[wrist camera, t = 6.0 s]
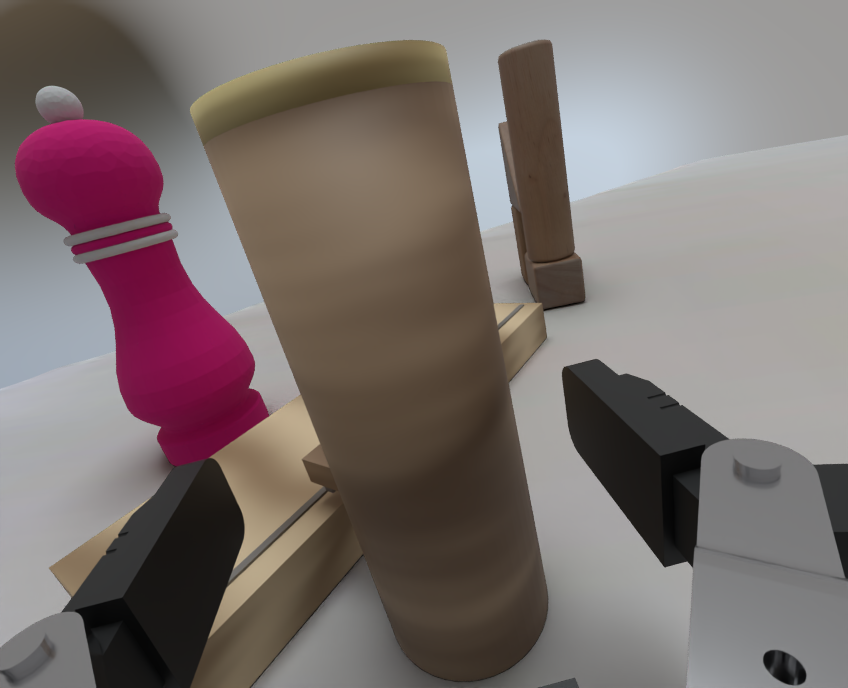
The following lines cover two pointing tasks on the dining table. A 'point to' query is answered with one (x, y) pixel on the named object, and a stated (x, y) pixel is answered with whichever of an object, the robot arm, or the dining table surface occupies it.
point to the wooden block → (538, 175)
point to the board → (284, 530)
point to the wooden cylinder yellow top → (390, 334)
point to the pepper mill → (140, 280)
